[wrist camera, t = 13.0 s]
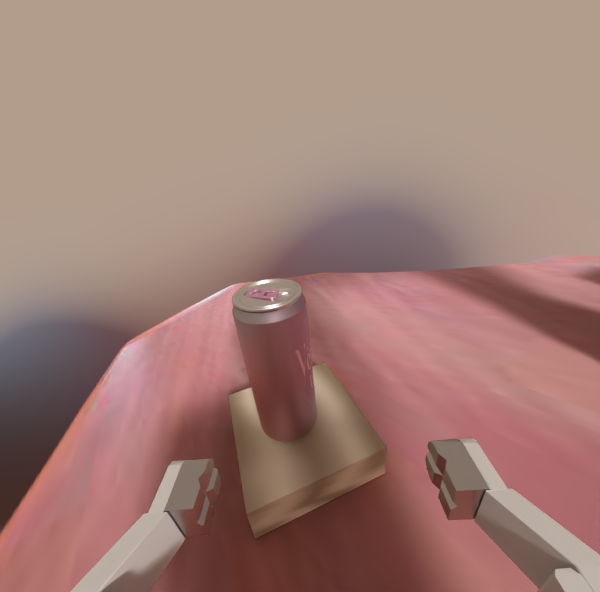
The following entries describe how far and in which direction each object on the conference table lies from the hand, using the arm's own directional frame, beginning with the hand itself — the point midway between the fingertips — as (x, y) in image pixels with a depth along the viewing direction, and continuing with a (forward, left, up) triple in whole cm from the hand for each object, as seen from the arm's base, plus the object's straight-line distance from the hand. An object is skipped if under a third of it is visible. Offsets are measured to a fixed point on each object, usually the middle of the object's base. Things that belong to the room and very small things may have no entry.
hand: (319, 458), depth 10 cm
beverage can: (-1, -13, -14) cm, 19 cm away
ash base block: (-2, -13, -18) cm, 22 cm away
